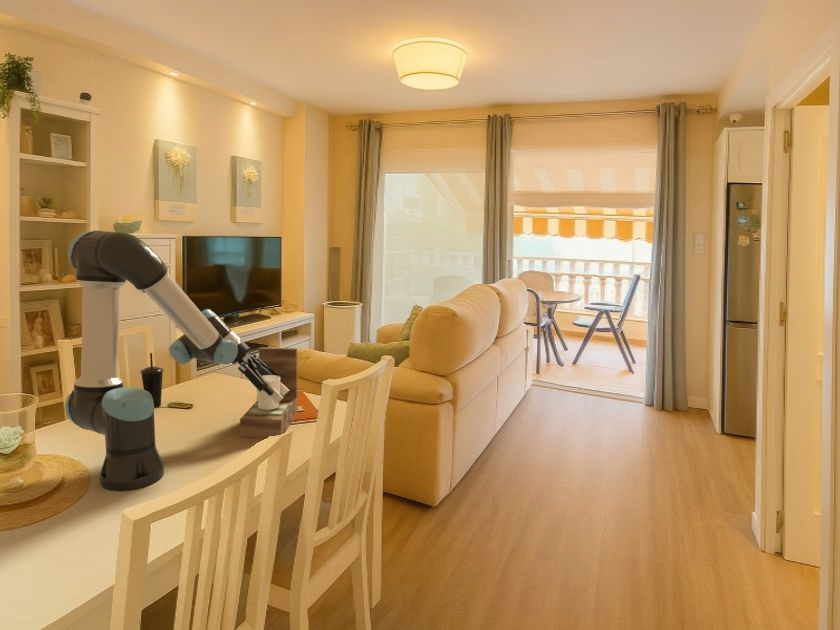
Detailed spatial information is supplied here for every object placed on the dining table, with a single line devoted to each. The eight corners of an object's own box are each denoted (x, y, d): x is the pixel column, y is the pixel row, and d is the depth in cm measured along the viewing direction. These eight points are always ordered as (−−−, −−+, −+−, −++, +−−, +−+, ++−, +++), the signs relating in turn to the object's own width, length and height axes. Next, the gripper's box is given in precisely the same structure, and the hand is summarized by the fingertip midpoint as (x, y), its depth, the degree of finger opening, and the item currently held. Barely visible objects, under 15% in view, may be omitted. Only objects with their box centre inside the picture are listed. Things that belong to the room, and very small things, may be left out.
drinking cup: (169, 405, 206) (166, 352, 203) (150, 410, 200) (147, 356, 197) (157, 401, 210) (154, 349, 207) (137, 406, 204) (134, 353, 201)
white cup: (274, 411, 182) (273, 382, 180) (252, 409, 183) (251, 380, 182) (284, 404, 189) (284, 375, 188) (263, 402, 191) (262, 374, 189)
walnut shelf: (281, 438, 177) (280, 365, 174) (240, 437, 177) (238, 363, 174) (297, 413, 201) (296, 348, 197) (261, 412, 201) (260, 347, 197)
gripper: (236, 349, 194) (283, 395, 196) (214, 363, 173) (267, 414, 176) (250, 334, 193) (297, 381, 195) (231, 347, 173) (283, 398, 175)
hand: (283, 396), depth 186 cm, fingers closed on white cup, 7 cm apart
